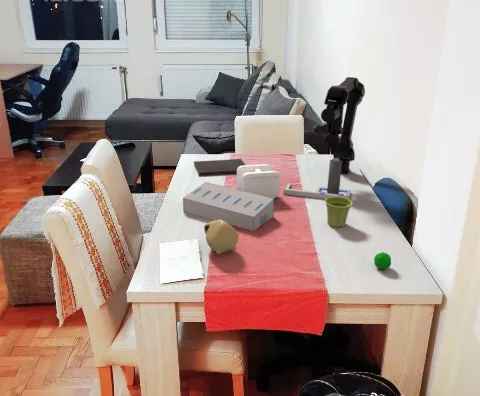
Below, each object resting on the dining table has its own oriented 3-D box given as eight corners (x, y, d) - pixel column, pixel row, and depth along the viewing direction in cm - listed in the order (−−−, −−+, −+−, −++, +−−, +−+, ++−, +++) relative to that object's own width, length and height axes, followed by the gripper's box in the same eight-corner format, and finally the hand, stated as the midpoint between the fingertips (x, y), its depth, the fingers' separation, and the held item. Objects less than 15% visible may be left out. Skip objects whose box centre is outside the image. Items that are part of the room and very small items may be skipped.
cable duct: (288, 184, 213) (289, 178, 212) (350, 191, 207) (351, 185, 206) (283, 193, 203) (283, 188, 202) (348, 201, 196) (349, 195, 195)
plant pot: (351, 220, 180) (354, 198, 176) (347, 231, 171) (350, 208, 168) (325, 217, 182) (327, 194, 179) (320, 227, 174) (322, 204, 171)
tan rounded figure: (227, 239, 164) (227, 209, 160) (243, 255, 154) (244, 224, 150) (199, 244, 160) (198, 214, 156) (214, 261, 150) (214, 229, 146)
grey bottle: (325, 191, 206) (328, 157, 200) (336, 191, 206) (340, 156, 201) (328, 196, 201) (332, 160, 196) (340, 195, 202) (343, 160, 196)
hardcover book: (193, 166, 235) (193, 161, 234) (241, 163, 240) (241, 158, 239) (199, 177, 221) (198, 172, 220) (249, 174, 226) (249, 169, 225)
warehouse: (183, 212, 185) (182, 193, 182) (205, 200, 196) (205, 181, 193) (253, 232, 170) (254, 211, 168) (273, 217, 182) (274, 198, 179)
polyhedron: (387, 263, 151) (389, 249, 149) (392, 272, 147) (394, 257, 145) (371, 263, 151) (372, 249, 149) (375, 272, 146) (377, 257, 145)
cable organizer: (271, 190, 207) (272, 163, 202) (279, 199, 197) (280, 171, 193) (236, 192, 203) (236, 165, 199) (242, 202, 194) (243, 174, 189)
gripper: (318, 111, 215) (315, 146, 221) (312, 121, 198) (309, 159, 204) (345, 113, 212) (341, 149, 218) (341, 123, 195) (337, 161, 201)
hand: (332, 154), depth 210 cm, fingers closed
